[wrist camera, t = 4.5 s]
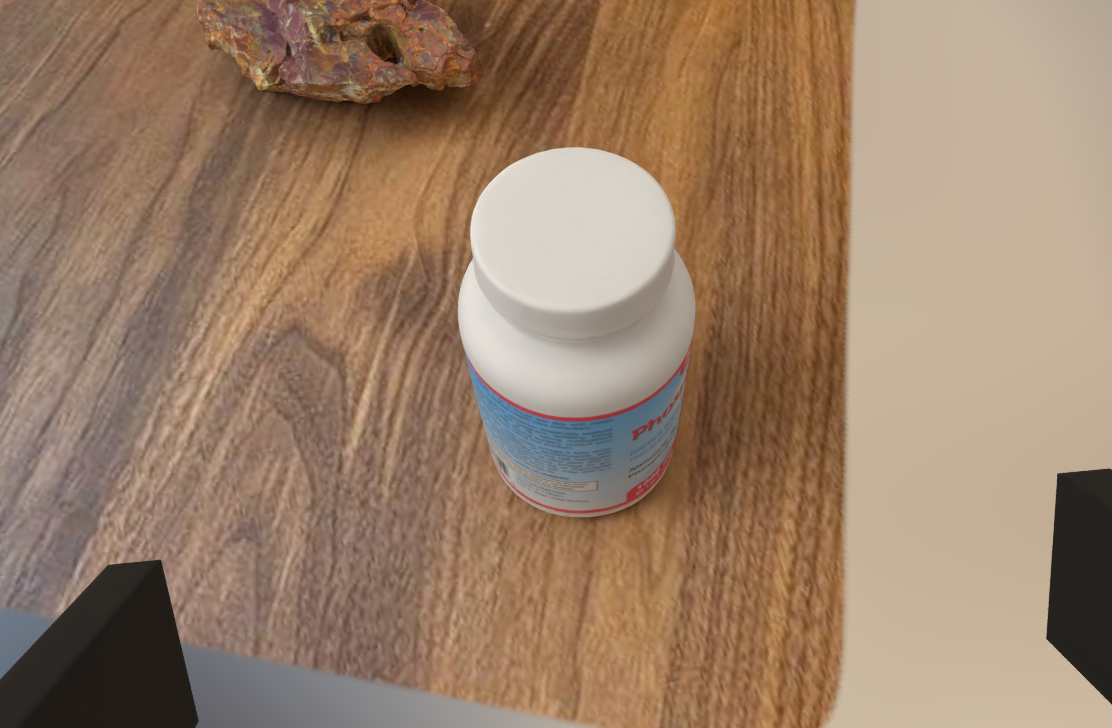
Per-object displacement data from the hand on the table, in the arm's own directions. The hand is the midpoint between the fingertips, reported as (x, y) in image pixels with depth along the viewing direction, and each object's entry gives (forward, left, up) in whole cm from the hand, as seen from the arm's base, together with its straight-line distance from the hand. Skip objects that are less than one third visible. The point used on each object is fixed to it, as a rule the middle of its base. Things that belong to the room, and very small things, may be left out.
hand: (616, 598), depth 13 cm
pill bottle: (+8, -4, -14) cm, 16 cm away
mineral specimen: (+28, -6, -14) cm, 32 cm away
